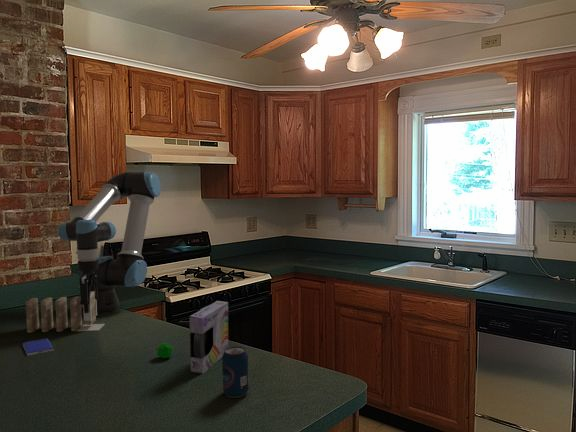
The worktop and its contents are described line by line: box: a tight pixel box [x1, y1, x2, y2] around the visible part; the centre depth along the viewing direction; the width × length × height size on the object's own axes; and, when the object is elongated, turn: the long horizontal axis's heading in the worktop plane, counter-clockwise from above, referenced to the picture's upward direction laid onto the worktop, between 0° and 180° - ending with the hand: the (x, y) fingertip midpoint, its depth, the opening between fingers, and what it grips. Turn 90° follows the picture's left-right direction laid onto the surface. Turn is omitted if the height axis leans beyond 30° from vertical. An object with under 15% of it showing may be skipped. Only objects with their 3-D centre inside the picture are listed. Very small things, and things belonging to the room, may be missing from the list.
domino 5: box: [84, 291, 97, 325], centre depth 196 cm, size 2×6×12 cm, turn 4°
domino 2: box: [39, 296, 54, 333], centre depth 195 cm, size 2×6×12 cm, turn 4°
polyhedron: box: [156, 342, 174, 360], centre depth 163 cm, size 5×5×5 cm
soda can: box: [221, 346, 250, 399], centre depth 135 cm, size 7×7×12 cm
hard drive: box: [22, 338, 55, 357], centre depth 174 cm, size 2×8×12 cm
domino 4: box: [69, 295, 83, 332], centre depth 196 cm, size 2×6×12 cm, turn 4°
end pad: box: [76, 323, 105, 332], centre depth 196 cm, size 8×8×1 cm
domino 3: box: [54, 296, 69, 332], centre depth 195 cm, size 2×6×12 cm, turn 4°
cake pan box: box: [189, 300, 229, 374], centre depth 157 cm, size 19×5×18 cm, turn 161°
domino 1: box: [25, 297, 40, 333], centre depth 194 cm, size 2×6×12 cm, turn 4°
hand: (90, 317), depth 196 cm, fingers closed on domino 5, 6 cm apart
